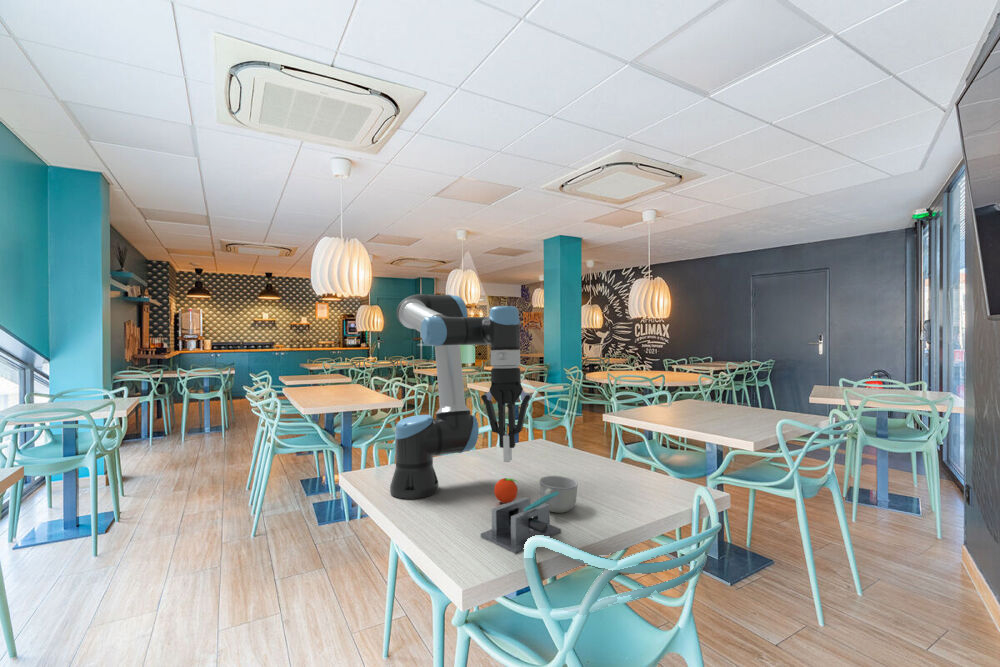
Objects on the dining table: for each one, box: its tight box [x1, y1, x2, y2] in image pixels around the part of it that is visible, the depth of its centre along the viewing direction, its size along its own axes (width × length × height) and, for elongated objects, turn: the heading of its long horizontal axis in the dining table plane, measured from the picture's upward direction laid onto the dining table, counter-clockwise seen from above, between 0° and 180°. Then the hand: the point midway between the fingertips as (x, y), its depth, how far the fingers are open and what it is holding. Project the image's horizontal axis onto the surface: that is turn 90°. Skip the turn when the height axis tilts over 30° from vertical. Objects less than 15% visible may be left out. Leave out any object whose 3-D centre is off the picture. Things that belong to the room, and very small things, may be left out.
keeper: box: [523, 491, 559, 512], centre depth 108 cm, size 9×5×1 cm
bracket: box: [480, 496, 562, 554], centre depth 113 cm, size 12×16×7 cm
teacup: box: [538, 475, 579, 514], centre depth 128 cm, size 14×11×8 cm
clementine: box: [493, 477, 518, 504], centre depth 135 cm, size 8×7×7 cm
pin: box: [509, 510, 548, 534], centre depth 112 cm, size 13×4×4 cm, turn 43°
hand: (507, 460), depth 116 cm, fingers closed
